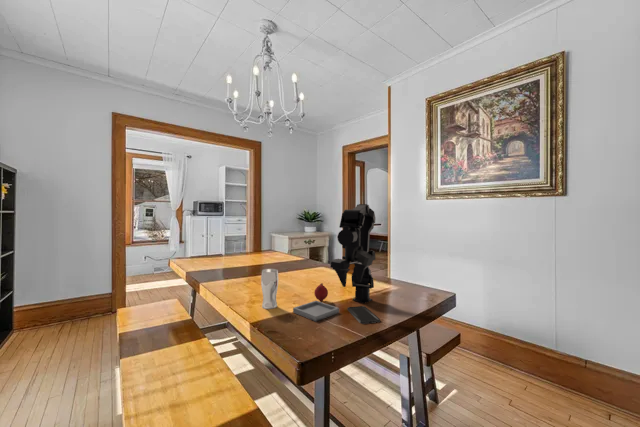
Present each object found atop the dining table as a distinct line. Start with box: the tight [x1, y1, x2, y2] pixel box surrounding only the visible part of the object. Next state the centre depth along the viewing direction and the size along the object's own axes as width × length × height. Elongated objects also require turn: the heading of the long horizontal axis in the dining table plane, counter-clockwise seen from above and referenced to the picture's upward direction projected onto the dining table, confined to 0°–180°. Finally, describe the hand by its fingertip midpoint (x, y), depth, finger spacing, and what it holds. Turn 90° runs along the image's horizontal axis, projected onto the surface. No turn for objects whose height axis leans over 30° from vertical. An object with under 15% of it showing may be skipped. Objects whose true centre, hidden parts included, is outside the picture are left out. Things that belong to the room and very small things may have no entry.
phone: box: [346, 305, 381, 325], centre depth 106 cm, size 8×1×15 cm
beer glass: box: [260, 268, 279, 310], centre depth 114 cm, size 7×7×15 cm
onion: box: [313, 282, 329, 302], centre depth 122 cm, size 6×6×8 cm
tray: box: [292, 300, 340, 322], centre depth 108 cm, size 13×13×2 cm
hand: (352, 284), depth 105 cm, fingers open, 9 cm apart
